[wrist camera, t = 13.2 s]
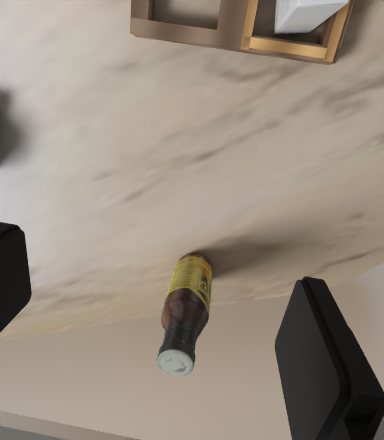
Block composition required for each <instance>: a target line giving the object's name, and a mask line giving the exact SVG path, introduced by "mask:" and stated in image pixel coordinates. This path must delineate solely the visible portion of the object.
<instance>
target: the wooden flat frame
mask: <svg viewBox="0 0 384 440" xmlns="http://www.w3.org/2000/svg"><path fill="white" fill-rule="evenodd" d="M354 2H355V0H349V2H348V3H347V4H346V5H345V6H344V7H342V8H341V9H339V10H338V11H337V12H336V13H334V14H333V15H332V16H330V17H329V18H328V19H326V20H325V21H324V22H323V26H322V29H321V33H320V36H319V40H318V44H310V43H303V42H296V41H289V40H282V39H275V38H269V37H262V36H255V35H252V31H253V26H254V20H255V15H256V10H257V5H258V0H221V4H220V11H219V17H218V24H217V30H213V29H206V28H199V27H192V26H186V25H179V24H172V23H165V22H158V21H153V15H154V0H131V24H130V33H131V34H133V35H134V36H136V37H143V38H149V39H156V40H163V41H170V42H176V43H183V44H190V45H197V46H204V47H210V48H217V49H224V50H231V51H238V52H244V53H251V54H258V55H265V56H271V57H278V58H285V59H292V60H299V61H305V62H312V63H319V64H326V65H330V64H334V63H336V61H337V58H338V54H339V51H340V48H341V45H342V41H343V38H344V35H345V32H346V28H347V25H348V22H349V19H350V15H351V12H352V9H353V6H354Z"/></svg>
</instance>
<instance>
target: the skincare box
mask: <svg viewBox="0 0 384 440" xmlns="http://www.w3.org/2000/svg"><path fill="white" fill-rule="evenodd" d="M348 2H349V0H276V11H275V26H274V35H277V34H295V33H309V32H311V31H312V30H313V29H314V28H316V27H317V26H318V25H320V24H321V23H322V22H324V21H325V20H326V19H328V18H329V17H330V16H332V15H333V14H334V13H336V12H337V11H338V10H339V9H341V8H342V7H344V6H345V5H346V4H347V3H348Z"/></svg>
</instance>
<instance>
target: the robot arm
mask: <svg viewBox="0 0 384 440" xmlns="http://www.w3.org/2000/svg"><path fill="white" fill-rule="evenodd" d="M30 298H31V284H30V275H29V267H28V258H27V250H26V242H25V234H24V232H23V231H22V230H21V229H20V227H19V226H18V225H14V224H8V223H3V222H0V332H1V331H2V330H3V329H4V328H5V327H6V326H7V325H8V324H9V323H10V322H11V321H12V319H13V318H14V317H15V316H16V315H17V314H18V313H19V312H20V311H21V310H22V309H23V308H24V307H25V306H26V305H27V303H28V302H29V300H30ZM275 352H276V357H277V362H278V367H279V373H280V378H281V384H282V389H283V394H284V399H285V404H286V410H287V414H288V420H289V425H290V431H291V436H292V440H384V392H383V389H382V387H381V385H380V384H379V382H378V380H377V378H376V376H375V374H374V372H373V370H372V368H371V366H370V364H369V363H368V361H367V359H366V357H365V355H364V353H363V351H362V349H361V348H360V345H359V344H358V342H357V340H356V338H355V336H354V334H353V332H352V331H351V329H350V328H349V327H348V325H347V323H346V321H345V319H344V318H343V315H342V314H341V312H340V310H339V308H338V306H337V304H336V302H335V300H334V298H333V296H332V294H331V292H330V291H329V289H328V287H327V285H326V283H325V281H324V280H322V279H317V278H311V277H306V276H305V277H304V278H303V279H302V280H297V282H296V284H295V287H294V289H293V292H292V295H291V298H290V301H289V304H288V307H287V309H286V312H285V315H284V317H283V320H282V323H281V326H280V329H279V331H278V334H277V337H276V341H275ZM0 440H139V439H134V438H129V437H124V436H119V435H115V434H110V433H105V432H100V431H96V430H91V429H86V428H81V427H76V426H71V425H66V424H61V423H57V422H52V421H47V420H42V419H37V418H33V417H28V416H23V415H18V414H13V413H8V412H3V411H0Z"/></svg>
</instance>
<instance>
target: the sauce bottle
mask: <svg viewBox="0 0 384 440" xmlns="http://www.w3.org/2000/svg"><path fill="white" fill-rule="evenodd" d="M211 285H212V268H211V265H210V263H209V261H208V260H207V259H206V258H205V257H204V256H201V255H198V254H188V255H185V256H184V257H182V258H181V259H180V260H179V262H178V264H177V265H176V268H175V271H174V274H173V277H172V280H171V283H170V286H169V289H168V293H167V296H166V299H165V305H164V308H163V311H162V319H161V320H162V325H163V328H164V329H165V338H164V342H163V345H162V346H161V347H160V350H159V353H158V358H157V362H158V366H159V368H160V369H161V371H163V372H165V373H166V374H167V375H170V376H174V377H181V376H185V375H187V374H189V373H190V372H191V371H192V369H193V367H194V362H195V353H194V351H195V343H196V340H197V338H198V336H199V335H200V333H201V332H202V330H203V328H204V327H205V325H206V323H207V322H208V317H209V308H210V297H211Z"/></svg>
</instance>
